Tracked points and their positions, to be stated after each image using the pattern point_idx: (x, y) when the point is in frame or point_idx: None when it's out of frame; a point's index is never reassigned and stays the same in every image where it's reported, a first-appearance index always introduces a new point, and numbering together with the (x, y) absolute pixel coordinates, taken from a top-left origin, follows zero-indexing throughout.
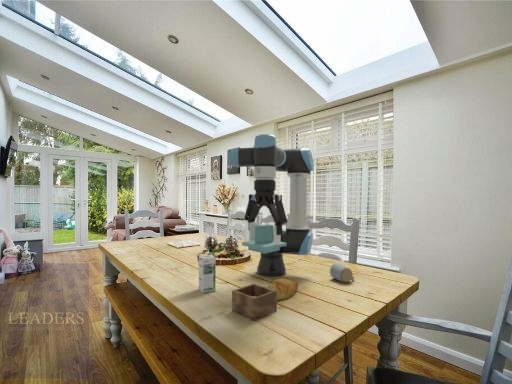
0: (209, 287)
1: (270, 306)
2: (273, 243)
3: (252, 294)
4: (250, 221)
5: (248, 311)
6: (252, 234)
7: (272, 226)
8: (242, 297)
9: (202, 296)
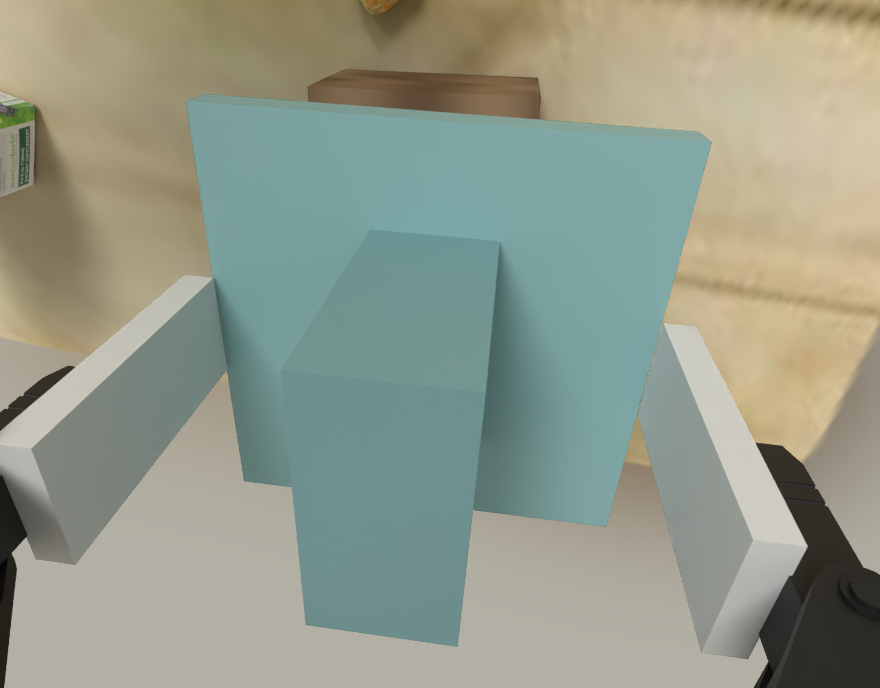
0: (16, 151)
1: None
2: (569, 324)
3: None
4: (9, 554)
5: None
6: (183, 388)
7: (484, 396)
8: None
9: (86, 218)
